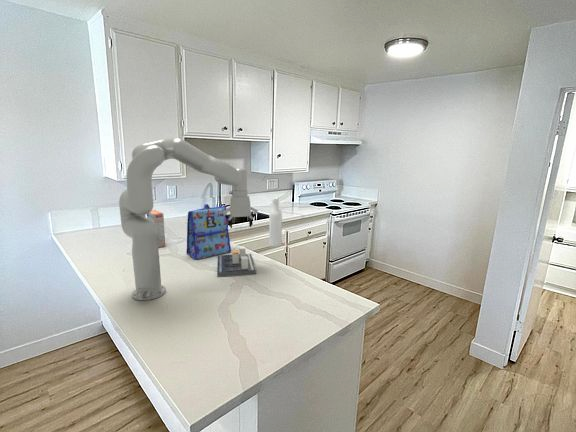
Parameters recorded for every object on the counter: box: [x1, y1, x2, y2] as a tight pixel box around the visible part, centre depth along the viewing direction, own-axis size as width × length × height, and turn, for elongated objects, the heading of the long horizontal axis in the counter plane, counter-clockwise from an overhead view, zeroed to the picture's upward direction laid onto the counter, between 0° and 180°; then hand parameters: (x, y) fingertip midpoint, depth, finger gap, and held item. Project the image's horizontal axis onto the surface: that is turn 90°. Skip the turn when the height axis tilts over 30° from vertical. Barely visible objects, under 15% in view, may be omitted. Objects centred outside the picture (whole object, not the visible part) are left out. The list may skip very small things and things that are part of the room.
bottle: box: [268, 196, 283, 248], centre depth 186 cm, size 8×8×30 cm
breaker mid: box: [231, 249, 239, 264], centre depth 153 cm, size 4×3×6 cm
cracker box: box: [146, 209, 166, 249], centre depth 186 cm, size 14×6×21 cm, turn 41°
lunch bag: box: [185, 203, 232, 261], centre depth 171 cm, size 22×14×29 cm, turn 129°
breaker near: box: [241, 256, 248, 269], centre depth 147 cm, size 4×3×5 cm
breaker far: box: [238, 245, 247, 258], centre depth 162 cm, size 4×3×5 cm
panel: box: [216, 253, 257, 278], centre depth 154 cm, size 24×18×2 cm
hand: (240, 227), depth 153 cm, fingers open, 9 cm apart
